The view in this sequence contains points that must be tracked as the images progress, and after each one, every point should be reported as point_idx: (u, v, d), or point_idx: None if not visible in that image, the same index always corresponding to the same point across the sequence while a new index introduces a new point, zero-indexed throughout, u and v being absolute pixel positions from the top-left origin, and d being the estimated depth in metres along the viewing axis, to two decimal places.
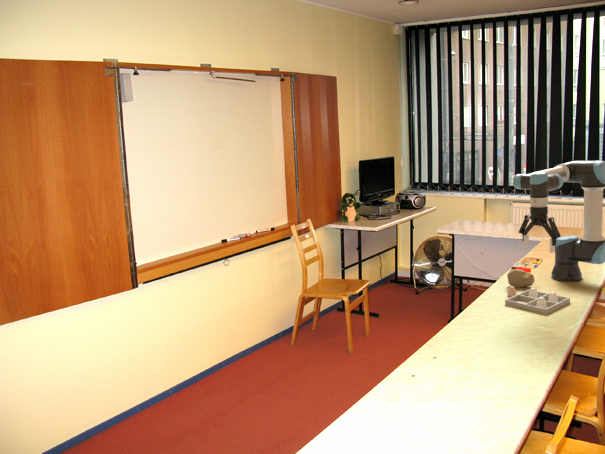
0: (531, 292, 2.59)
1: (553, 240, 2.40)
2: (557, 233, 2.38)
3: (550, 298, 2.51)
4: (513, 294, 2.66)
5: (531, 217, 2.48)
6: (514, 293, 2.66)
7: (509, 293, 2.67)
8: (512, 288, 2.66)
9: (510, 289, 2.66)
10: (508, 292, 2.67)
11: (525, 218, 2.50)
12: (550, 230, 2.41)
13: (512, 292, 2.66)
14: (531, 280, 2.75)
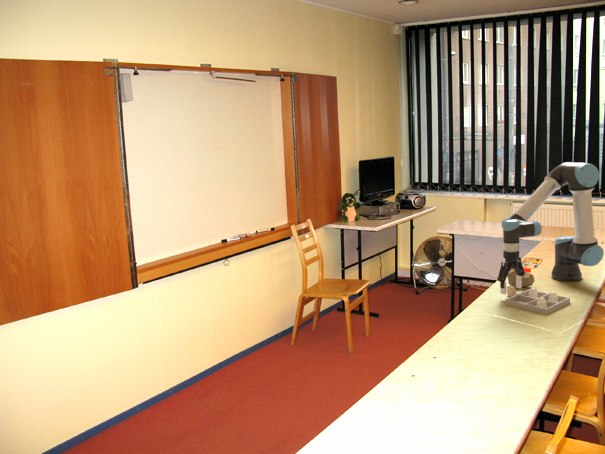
0: (531, 292, 2.59)
1: None
2: (499, 277, 2.61)
3: (550, 298, 2.51)
4: (513, 294, 2.66)
5: None
6: (514, 293, 2.66)
7: (509, 293, 2.67)
8: (512, 288, 2.66)
9: (510, 289, 2.66)
10: (508, 292, 2.67)
11: None
12: None
13: (512, 292, 2.66)
14: (531, 280, 2.75)
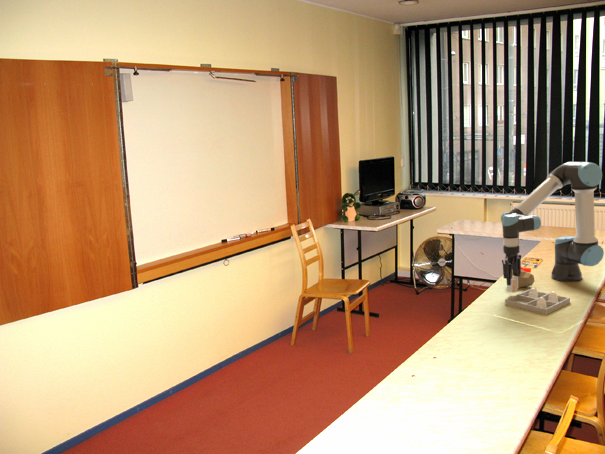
0: (531, 292, 2.59)
1: None
2: (505, 275, 2.63)
3: (550, 298, 2.51)
4: (514, 288, 2.66)
5: None
6: (515, 287, 2.66)
7: None
8: (513, 282, 2.66)
9: None
10: None
11: None
12: None
13: (513, 286, 2.65)
14: (531, 280, 2.75)
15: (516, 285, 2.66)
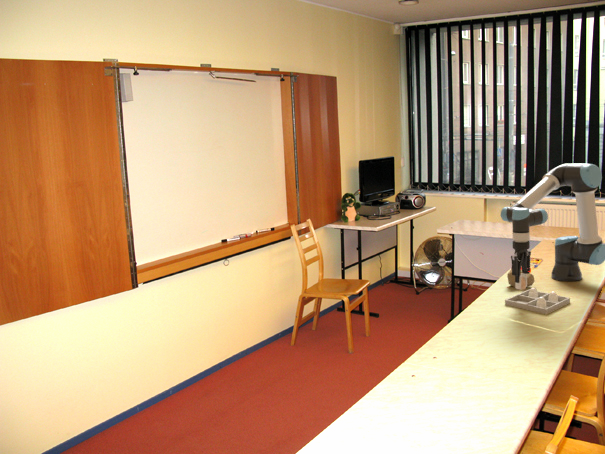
0: (531, 292, 2.59)
1: None
2: (513, 271, 2.49)
3: (550, 298, 2.51)
4: (522, 285, 2.51)
5: None
6: (524, 285, 2.52)
7: None
8: (521, 279, 2.52)
9: None
10: None
11: None
12: None
13: (521, 283, 2.51)
14: (531, 280, 2.75)
15: (525, 283, 2.52)
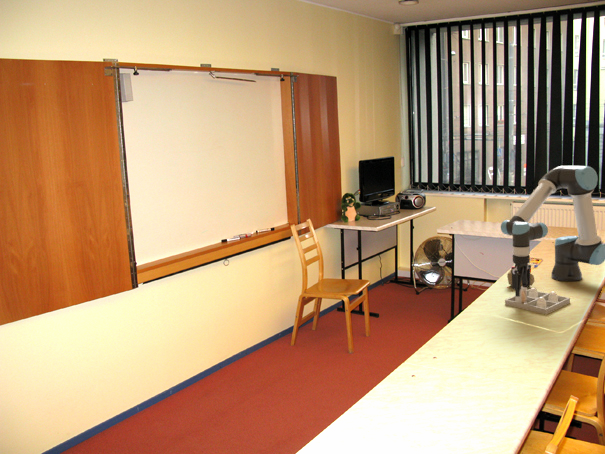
0: (531, 292, 2.59)
1: None
2: (513, 285, 2.50)
3: (550, 298, 2.51)
4: (523, 299, 2.53)
5: None
6: (524, 298, 2.53)
7: None
8: None
9: None
10: None
11: None
12: None
13: (522, 297, 2.53)
14: (531, 280, 2.75)
15: (525, 296, 2.53)
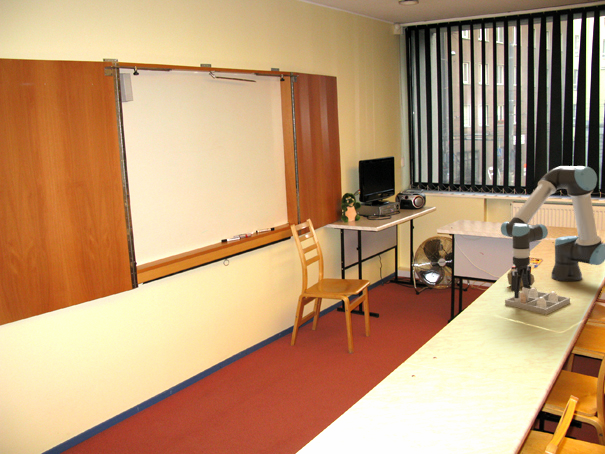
0: (531, 292, 2.59)
1: None
2: (513, 287, 2.50)
3: (550, 298, 2.51)
4: (523, 301, 2.53)
5: None
6: (524, 301, 2.53)
7: None
8: (522, 295, 2.53)
9: None
10: None
11: None
12: None
13: (522, 299, 2.53)
14: (531, 280, 2.75)
15: (525, 298, 2.53)
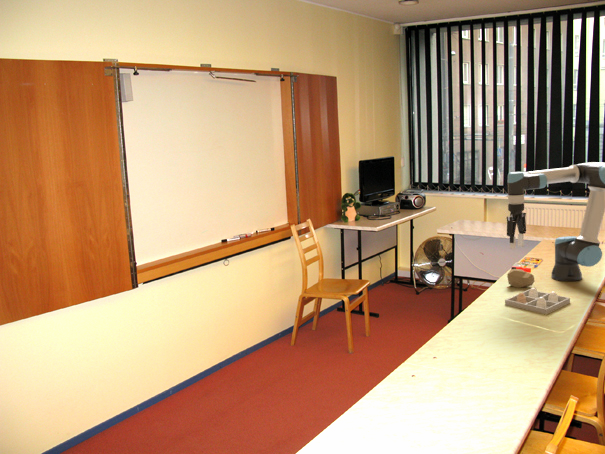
0: (531, 292, 2.59)
1: None
2: (508, 232, 2.62)
3: (550, 298, 2.51)
4: (523, 301, 2.53)
5: None
6: (524, 301, 2.53)
7: (518, 300, 2.54)
8: (522, 295, 2.53)
9: (520, 296, 2.53)
10: (517, 299, 2.54)
11: None
12: None
13: (522, 299, 2.53)
14: (531, 280, 2.75)
15: (525, 298, 2.53)
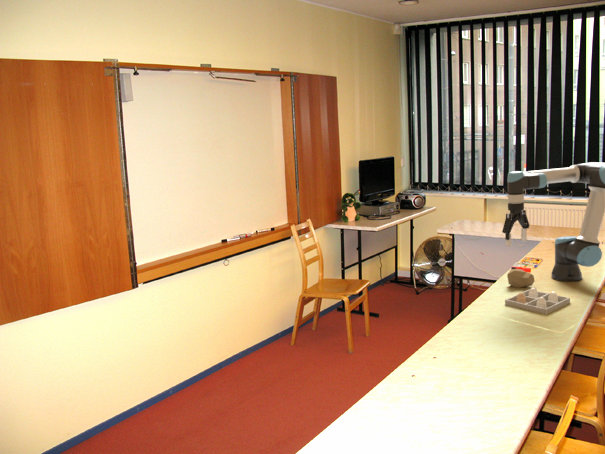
0: (531, 292, 2.59)
1: None
2: (504, 228, 2.61)
3: (550, 298, 2.51)
4: (523, 301, 2.53)
5: None
6: (524, 301, 2.53)
7: (518, 300, 2.54)
8: (522, 295, 2.53)
9: (520, 296, 2.53)
10: (517, 299, 2.54)
11: None
12: None
13: (522, 299, 2.53)
14: (531, 280, 2.75)
15: (525, 298, 2.53)
